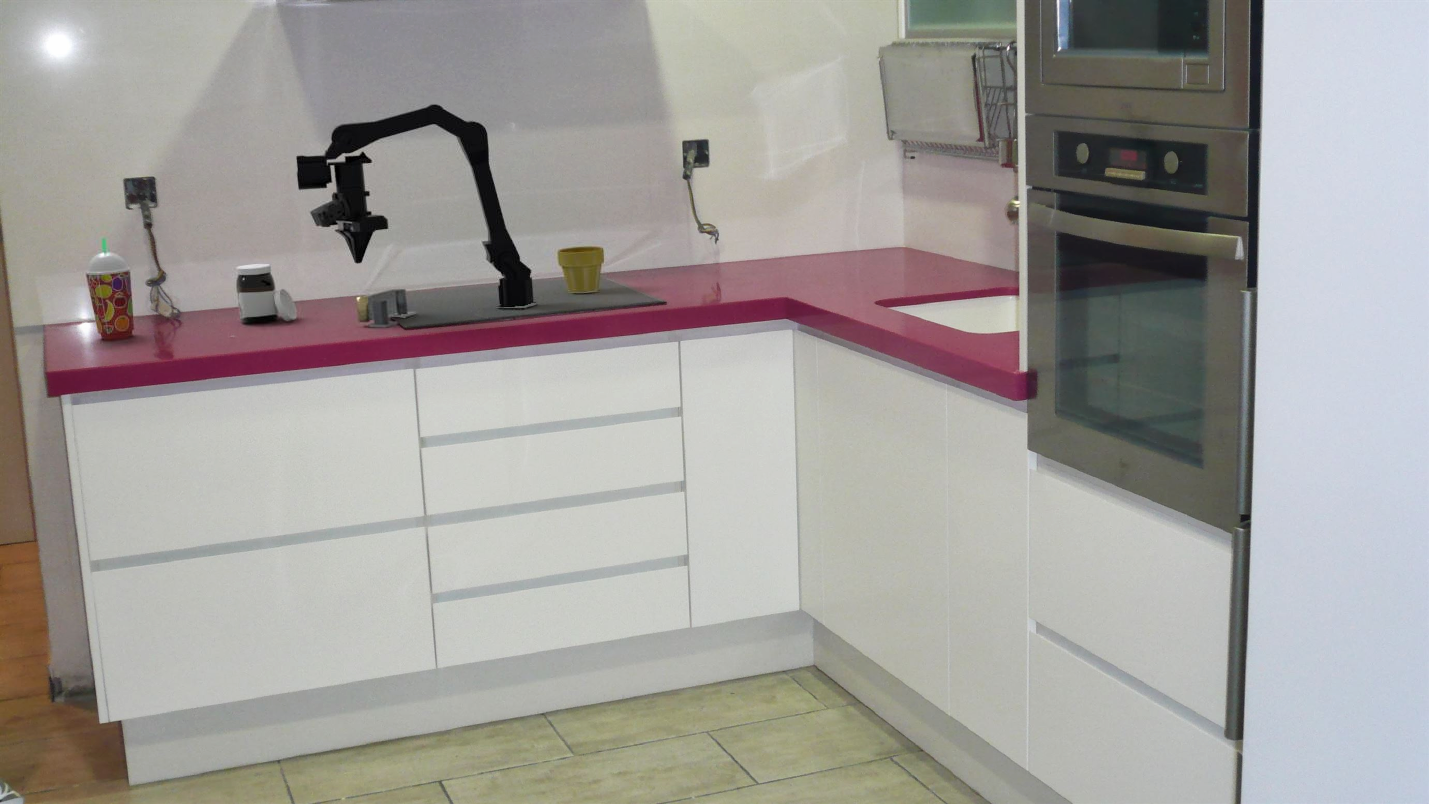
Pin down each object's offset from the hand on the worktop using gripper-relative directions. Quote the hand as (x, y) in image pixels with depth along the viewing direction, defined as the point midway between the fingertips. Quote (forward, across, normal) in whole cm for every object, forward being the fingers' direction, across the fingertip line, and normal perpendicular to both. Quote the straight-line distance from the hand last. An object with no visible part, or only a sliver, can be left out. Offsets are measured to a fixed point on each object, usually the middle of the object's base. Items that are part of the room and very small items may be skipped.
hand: (358, 263), depth 291 cm
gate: (+11, +5, +1) cm, 12 cm away
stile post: (+12, +9, -1) cm, 15 cm away
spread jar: (+12, -16, -14) cm, 24 cm away
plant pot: (+12, +8, +50) cm, 52 cm away
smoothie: (+12, -23, -43) cm, 50 cm away
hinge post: (+12, +2, +7) cm, 14 cm away
